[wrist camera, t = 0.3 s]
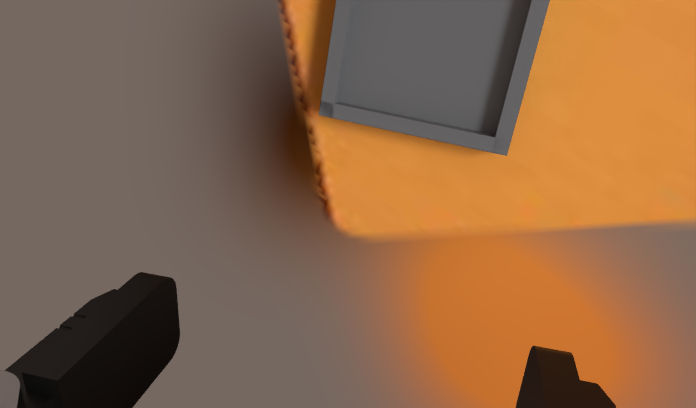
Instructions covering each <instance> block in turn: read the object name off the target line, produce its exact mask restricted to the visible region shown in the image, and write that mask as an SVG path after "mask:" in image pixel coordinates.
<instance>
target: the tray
mask: <svg viewBox="0 0 696 408" xmlns="http://www.w3.org/2000/svg"><path fill="white" fill-rule="evenodd" d="M549 1H550V0H336V6H335V12H334V19H333V25H332V32H331V38H330V45H329V51H328V58H327V64H326V71H325V77H324V84H323V91H322V97H321V104H320V110H319V115H321V116H326V117H330V118H335V119H339V120H344V121H349V122H353V123H358V124H362V125H367V126H372V127H376V128H381V129H385V130H390V131H395V132H399V133H404V134H409V135H413V136H418V137H422V138H427V139H432V140H436V141H441V142H445V143H450V144H455V145H459V146H464V147H469V148H473V149H478V150H482V151H487V152H492V153H496V154H501V155H505V156H507V153H508V149H509V146H510V142H511V138H512V135H513V131H514V128H515V124H516V120H517V117H518V113H519V109H520V106H521V102H522V99H523V95H524V91H525V88H526V84H527V81H528V77H529V73H530V70H531V66H532V63H533V59H534V55H535V52H536V48H537V44H538V41H539V37H540V34H541V30H542V26H543V23H544V19H545V16H546V12H547V8H548V5H549Z"/></svg>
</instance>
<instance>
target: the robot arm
mask: <svg viewBox="0 0 696 408" xmlns="http://www.w3.org/2000/svg"><path fill="white" fill-rule="evenodd" d="M179 337H180V328H179V315H178V302H177V290H176V284H175V281H174V280H173V279H172V278H170V277H165V276H159V275H153V274H148V273H143V272H141V273H138V274H136V275H135V276H134V277H132V278H131V279H130V280H129V281H128V282H126V283H125V284H124V285H123V286H122V287H121V288H119V289H118V290H116V289H113V290H111V291H109V292H107V293H105V294H102V295H100V296H98V297H96V298H94V299H92V300H90V301H89V302H88V303H87V304H85V305H84V306H83V307H82V308H81V309H79V310H78V311H77V312H76V313H74V316H73V317H70V318H69V319H67V320H66V321H65V322H63V323H62V324H61V325H60V328H59V329H57V328H56V329H55V330H54V331H52V332H51V333H50V334H49V335H48V336H46V337H45V338H44V339H43V340H42V341H40V342H39V343H38V344H37V345H35V346H34V347H33V348H32V349H30V350H29V351H28V352H27V353H26V354H24V355H23V356H22V357H21V358H20V359H18V360H17V361H16V362H15V363H13V364H12V365H11V366H10V367H9V368H7V369H6V370H5V371H2V370H0V408H132V407H133V406H134V405H135V404H136V402H137V401H138V400H139V399H140V398H141V396H142V395H143V394H144V393H145V391H146V390H147V389H148V388H149V386H150V385H151V384H152V383H153V382H154V380H155V379H156V378H157V377H158V375H159V374H160V373H161V372H162V370H163V369H164V368H165V367H166V365H167V364H168V363H169V362H170V360H171V359H172V358H173V356H174V354H175V352H176V349H177V347H178V343H179ZM516 408H616V406H615V404H614V403H613V402H612V401H611V400H610V398H609V397H608V396H607V395H606V393H605V392H604V391H603V390H602V389H601V387H600V386H599V385H598V384H596V383H591V382H586V381H581V380H580V379H579V376H578V372H577V368H576V365H575V361H574V357H573V355H572V353H570V352H565V351H559V350H553V349H548V348H543V347H538V346H533V347H532V348H531V350H530V353H529V356H528V360H527V364H526V368H525V372H524V376H523V380H522V384H521V388H520V392H519V396H518V400H517V404H516Z"/></svg>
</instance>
